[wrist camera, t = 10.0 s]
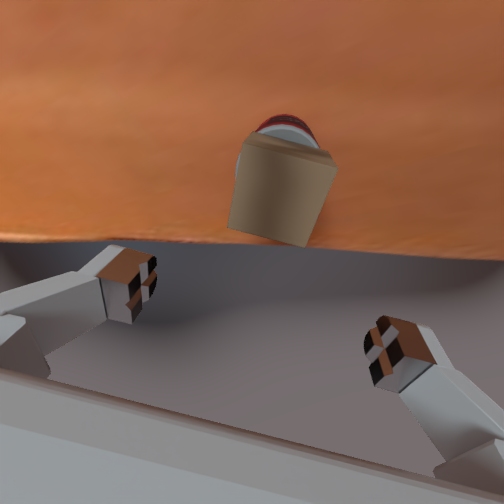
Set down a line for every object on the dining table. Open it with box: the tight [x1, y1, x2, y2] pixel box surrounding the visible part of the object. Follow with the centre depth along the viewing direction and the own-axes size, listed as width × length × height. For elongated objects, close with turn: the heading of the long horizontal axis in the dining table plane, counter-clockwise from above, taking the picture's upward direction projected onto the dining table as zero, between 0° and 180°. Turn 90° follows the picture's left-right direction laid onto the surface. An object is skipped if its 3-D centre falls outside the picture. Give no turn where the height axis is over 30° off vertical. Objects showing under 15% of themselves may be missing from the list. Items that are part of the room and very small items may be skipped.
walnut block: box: [227, 131, 338, 248], centre depth 19 cm, size 6×6×5 cm
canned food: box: [235, 114, 320, 177], centre depth 25 cm, size 8×8×11 cm
